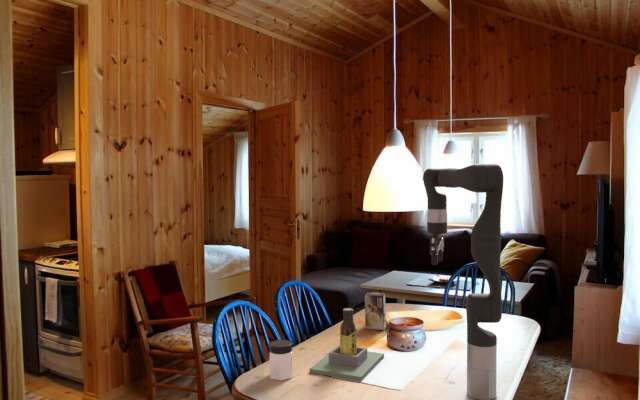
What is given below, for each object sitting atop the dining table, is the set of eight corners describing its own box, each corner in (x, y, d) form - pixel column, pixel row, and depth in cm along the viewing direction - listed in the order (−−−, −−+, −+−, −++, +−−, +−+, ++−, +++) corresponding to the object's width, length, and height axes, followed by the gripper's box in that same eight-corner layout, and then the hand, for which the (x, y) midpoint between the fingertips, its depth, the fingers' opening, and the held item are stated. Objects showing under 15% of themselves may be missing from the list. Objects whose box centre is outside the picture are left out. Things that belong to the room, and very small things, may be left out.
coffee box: (386, 326, 251) (386, 292, 250) (384, 330, 245) (384, 295, 244) (367, 325, 254) (367, 291, 253) (364, 328, 248) (364, 294, 247)
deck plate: (361, 381, 186) (361, 365, 185) (309, 372, 194) (309, 357, 194) (384, 357, 209) (383, 343, 209) (337, 350, 217) (337, 337, 217)
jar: (264, 377, 190) (263, 344, 189) (277, 370, 197) (276, 338, 196) (285, 382, 185) (284, 348, 185) (297, 374, 192) (297, 342, 192)
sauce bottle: (355, 364, 197) (355, 312, 196) (338, 363, 198) (338, 311, 198) (357, 358, 204) (357, 307, 203) (341, 357, 205) (341, 306, 204)
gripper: (443, 222, 194) (443, 266, 194) (450, 219, 207) (450, 260, 207) (422, 222, 197) (422, 265, 198) (431, 219, 210) (431, 259, 210)
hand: (437, 263), depth 202 cm, fingers open, 8 cm apart
